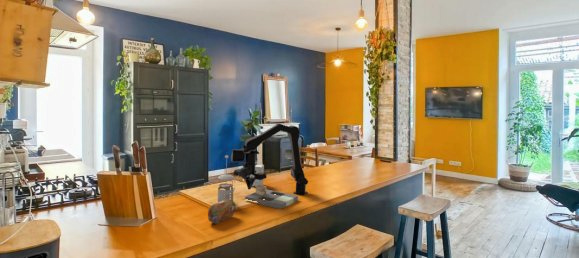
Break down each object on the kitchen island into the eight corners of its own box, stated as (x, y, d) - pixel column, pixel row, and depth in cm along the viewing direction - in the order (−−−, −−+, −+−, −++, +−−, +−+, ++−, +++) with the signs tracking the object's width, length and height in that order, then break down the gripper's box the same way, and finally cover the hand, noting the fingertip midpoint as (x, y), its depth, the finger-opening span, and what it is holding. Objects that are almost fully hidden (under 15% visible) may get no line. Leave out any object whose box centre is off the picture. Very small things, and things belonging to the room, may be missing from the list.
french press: (211, 204, 164) (212, 155, 162) (226, 198, 175) (227, 152, 172) (226, 208, 160) (228, 157, 158) (241, 202, 170) (242, 154, 168)
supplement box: (260, 187, 200) (260, 167, 199) (248, 186, 201) (249, 166, 200) (263, 184, 207) (264, 164, 206) (252, 183, 209) (253, 163, 208)
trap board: (263, 193, 188) (264, 188, 188) (297, 200, 178) (298, 195, 178) (245, 200, 173) (245, 196, 173) (281, 209, 162) (281, 204, 162)
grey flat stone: (211, 226, 137) (212, 206, 137) (206, 224, 139) (206, 205, 138) (235, 216, 150) (236, 198, 149) (230, 214, 152) (231, 197, 151)
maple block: (260, 192, 181) (260, 185, 181) (266, 193, 179) (266, 186, 179) (255, 193, 178) (256, 186, 177) (262, 195, 176) (262, 187, 175)
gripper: (227, 161, 178) (226, 189, 180) (255, 166, 169) (254, 195, 171) (240, 158, 188) (239, 185, 189) (267, 163, 179) (266, 191, 180)
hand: (249, 189), depth 182 cm, fingers closed
